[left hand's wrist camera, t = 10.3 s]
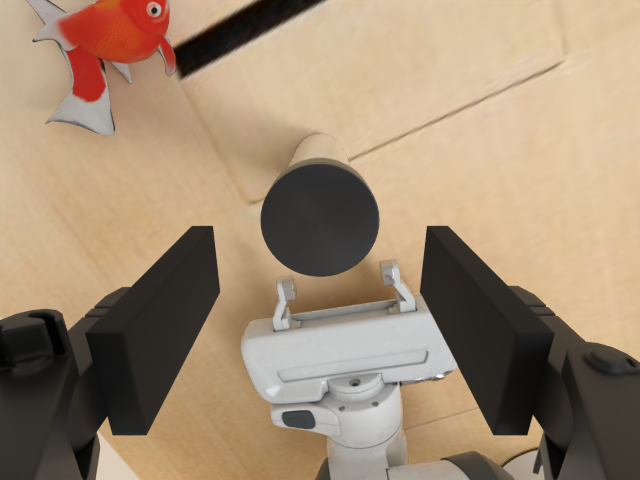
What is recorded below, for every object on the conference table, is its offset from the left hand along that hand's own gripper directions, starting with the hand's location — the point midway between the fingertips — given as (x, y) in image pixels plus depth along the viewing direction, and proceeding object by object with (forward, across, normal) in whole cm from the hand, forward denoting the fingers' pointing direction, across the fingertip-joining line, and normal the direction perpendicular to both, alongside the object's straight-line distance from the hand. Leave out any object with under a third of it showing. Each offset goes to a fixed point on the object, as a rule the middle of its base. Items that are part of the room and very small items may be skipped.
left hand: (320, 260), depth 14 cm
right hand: (+17, -2, +9) cm, 20 cm away
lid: (+5, 0, 0) cm, 5 cm away
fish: (+24, +17, -8) cm, 31 cm away
